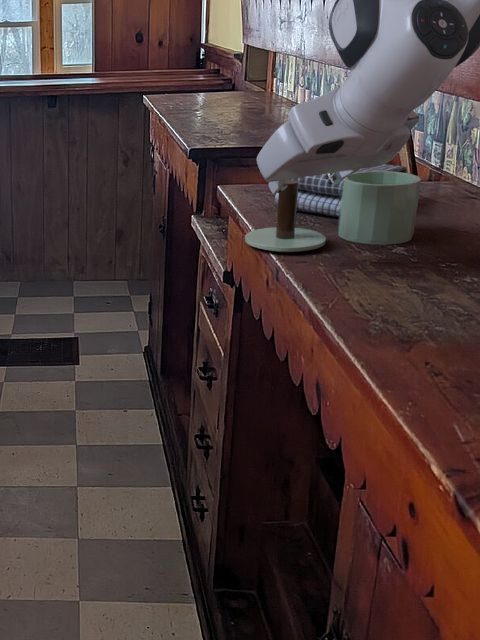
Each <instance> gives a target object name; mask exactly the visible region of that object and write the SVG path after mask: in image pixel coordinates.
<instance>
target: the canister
mask: <svg viewBox="0 0 480 640" xmlns="http://www.w3.org/2000/svg"><path fill="white" fill-rule="evenodd" d="M421 184H422V179H421V177H420V176H419V175H415V174H413V173H408V172H407V173H402V172H392V171H364V172H355V173H353V174H351V175H349V176H348V177H345V178H344V179H343V182H342V192H341V201H340V211H339V217H338V221H337V236H338V237H339V238H341V239H343V240H345V241H348V242H352V243H355V244H356V243H357V244H362V245H373V246H375V245H377V246H388V245H399V244H403V243H404V244H405V243H407V242H410V241H411V240H412V239H413V236H414V235H415V227H416V220H417V211H418V205H419V199H420V198H419V197H420V191H421Z"/></svg>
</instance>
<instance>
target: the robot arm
mask: <svg viewBox="0 0 480 640" xmlns="http://www.w3.org/2000/svg"><path fill="white" fill-rule="evenodd" d="M328 31H329V35H330V39H331V40H332V43H333V45H334V47H335V49H336V52H337V53H338V55H339V58H340V59H341V61H342V63H343V64H344V66H345V67H346V68H348V69H350V72H349V73H350V74H349V76H348V77H347V78H346V79H345V80H344V81H343V83H342V84H341V85H340V86H339V87H335V88H333V89H332V90H330V91H327V92H326V93H323V94H322V95H320V96H317V97H315V98H311V99H309V100H306V101H303V102H300V103H298V104H295V105H293V106H292V107H291V109H290V110H289V111H288V113H287V117H288V121H286V122H285V123H283V124H281V125H280V126H279V127H277V129H276V130H275V131H274V132H273V133H272V134H271V136H270V137H269V138H268V139H267V141H266V142H265V144H264V145H263V147H262V148H261V150H260V151H259V153H258V154H257V156H256V165H257V168H258V169H259V172H260V174H261V176H262V177H263V179H264V180H265V182H267V183H268V188H269V190H270V192H271V194H273V195H274V194H276V193H280V192H283V191H284V189H286V188H287V186H288V185H287V183H286V182H285V181H287V180H288V179H294V178H301V177H308V176H315V175H321V174H326V179H327V180H328V183H329V185H333V184H339V183H341V182H342V181H343V179H344V178H345V177H348V176H349V175H351V174H353V173H355V172H357V171H358V170H360V169H362V168H369V167H376V166H382V165H384V164H386V165H387V164H389V162H391V161H393V159H394V158H395V157H396V156H397V155H398V154H399V153H400V152H401V150H402V149H403V148H404V146H405V145H406V144H407V142H408V141H409V140H410V138H411V135H412V132H411V131H412V130H413V129H414V127H415V126H416V125H418V123H419V121H420V115H419V114H418V113H417V112H416V111H414V110H416V109H417V108H419V107H420V106H422V105H423V104H425V103H426V102H427V101H428V100H429V99H430V98H431V96H432V95H433V94H434V93H435V92H436V91H438V89H439V88H440V87H441V85H442V84H443V83H444V82H445V81H446V80H447V78H448V77H449V76H450V74H452V72H453V70H454V69H455V68H457V67H458V66H460V65H461V64H463V63H464V62H466V61H467V60H468V59H469V58H471V57H472V56H473V55H474V54H475V53H476V52H477V51H478V50H479V48H480V0H335V2H334V4H333V6H332V8H331V11H330V14H329V18H328Z"/></svg>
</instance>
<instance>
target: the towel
mask: <svg viewBox="0 0 480 640" xmlns="http://www.w3.org/2000/svg"><path fill="white" fill-rule="evenodd" d="M364 171H392V172H402V173H408V168H407V167H406V166H404V165H394V164H389V163H386V164H384V165H382V166H376V167H369V168H362V169H360V170H358V171H357V172H364ZM288 180H296V181H298V182H299V187H298V200H297V211H298V212H303V213H310V214H311V213H312V214H319V215H324V216H327V217H330V216H331V217H333V218H339V211H340V201H341V192H342V182H343V181H342V182H341V183H339V184H333V185H329V183H328V180H327V179H326V174H321V175H315V176H308V177H301V178H294V179H288ZM278 197H279V193H275V195H274V198H273V199H274V202H275V204H276V206H278Z"/></svg>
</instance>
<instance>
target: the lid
mask: <svg viewBox="0 0 480 640" xmlns="http://www.w3.org/2000/svg"><path fill="white" fill-rule="evenodd" d="M285 182H286V183H287V185H288V186H287V188H286V189H284V191H283V192H280V193H279V197H278V205H277V211H276V226H275V227H274V226H273V227H272V226H271V227H264V228H258V229H253V230H251V231H248V232H247V233H246V234H245V235H244V242H245V244H247V245H248V246H250V247H253V248H256V249H259V250H260V249H261V250H265V251H269V252H276V253H297V252H298V253H299V252H306V251H312V250H316V249H319V248H322V247H323V246H325V245H326V244H327V243H326V242H327V237H326V236H325V235H324V234H323V233H321V232H319V231H315V230H313V229H307V228H302V227H301V228H300V227H296V224H297V213H298V212H297V211H298V210H297V200H298V187H299V182H298V181H296V180H287V181H285Z"/></svg>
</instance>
